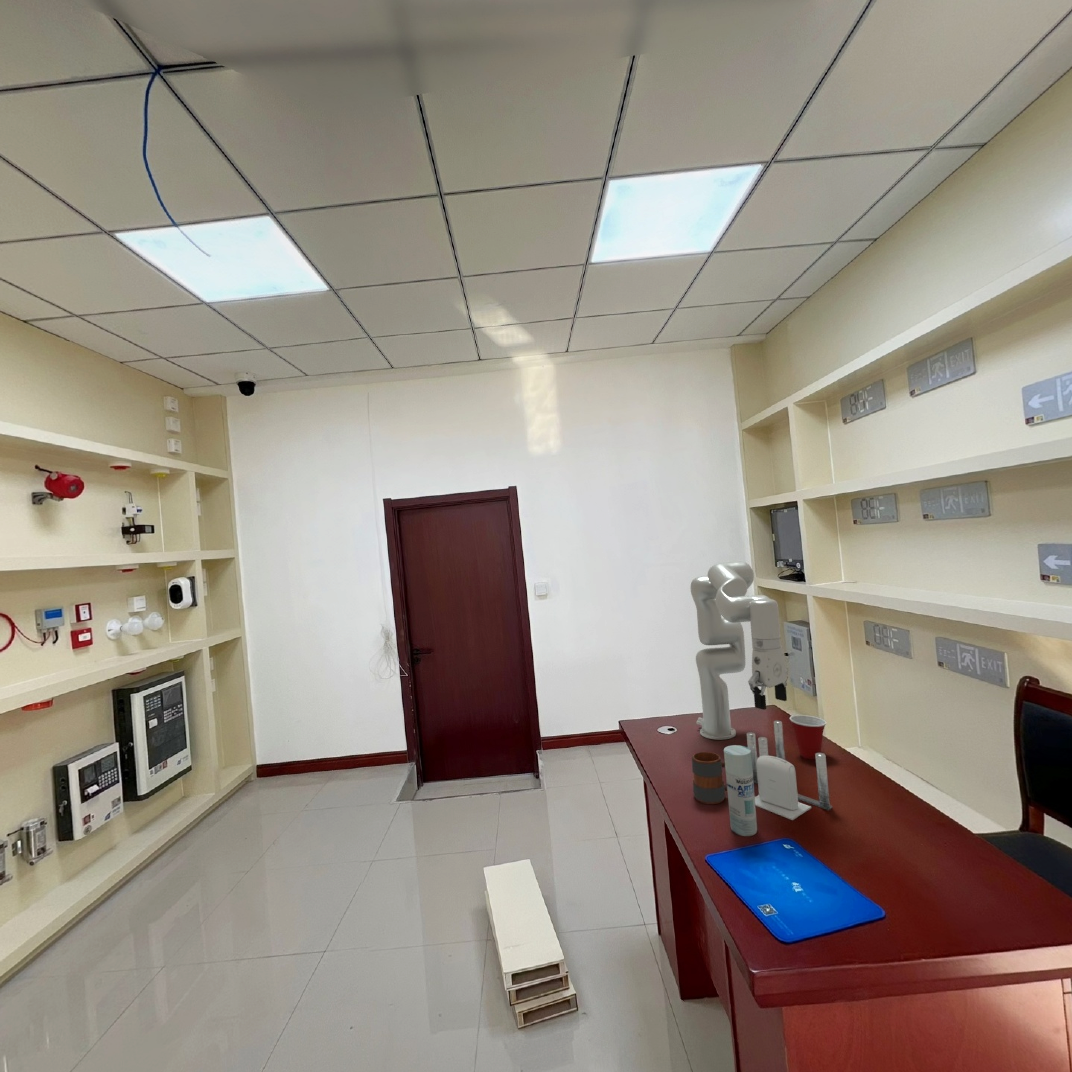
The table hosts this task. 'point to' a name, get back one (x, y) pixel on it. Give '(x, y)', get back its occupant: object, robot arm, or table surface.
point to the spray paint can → (740, 790)
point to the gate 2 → (821, 777)
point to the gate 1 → (778, 741)
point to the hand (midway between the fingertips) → (771, 704)
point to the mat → (782, 808)
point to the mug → (708, 778)
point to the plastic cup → (808, 734)
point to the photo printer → (777, 782)
